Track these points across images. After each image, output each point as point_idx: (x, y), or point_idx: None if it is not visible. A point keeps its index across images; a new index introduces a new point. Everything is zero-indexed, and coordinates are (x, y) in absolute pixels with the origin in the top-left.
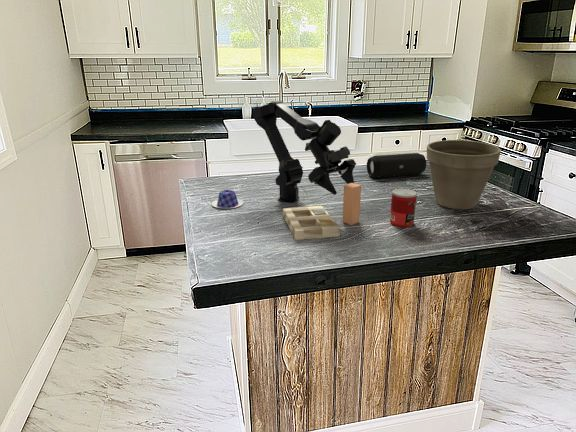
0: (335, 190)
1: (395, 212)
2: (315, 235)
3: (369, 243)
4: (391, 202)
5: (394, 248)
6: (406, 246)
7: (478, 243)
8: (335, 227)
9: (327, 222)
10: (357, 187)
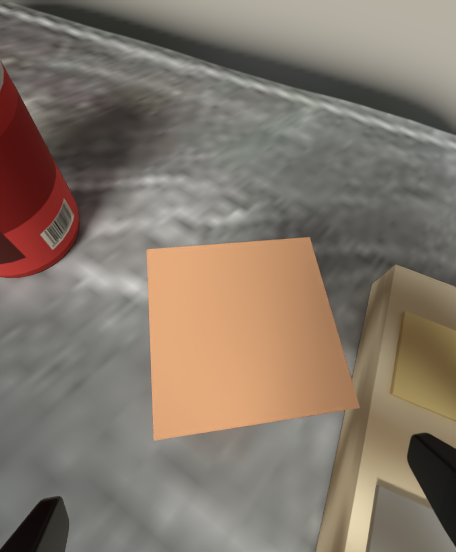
0: (448, 455)
1: (55, 181)
2: None
3: (301, 180)
4: (5, 186)
5: (254, 121)
6: (211, 110)
7: (21, 25)
8: (415, 274)
9: (437, 338)
10: (225, 250)
